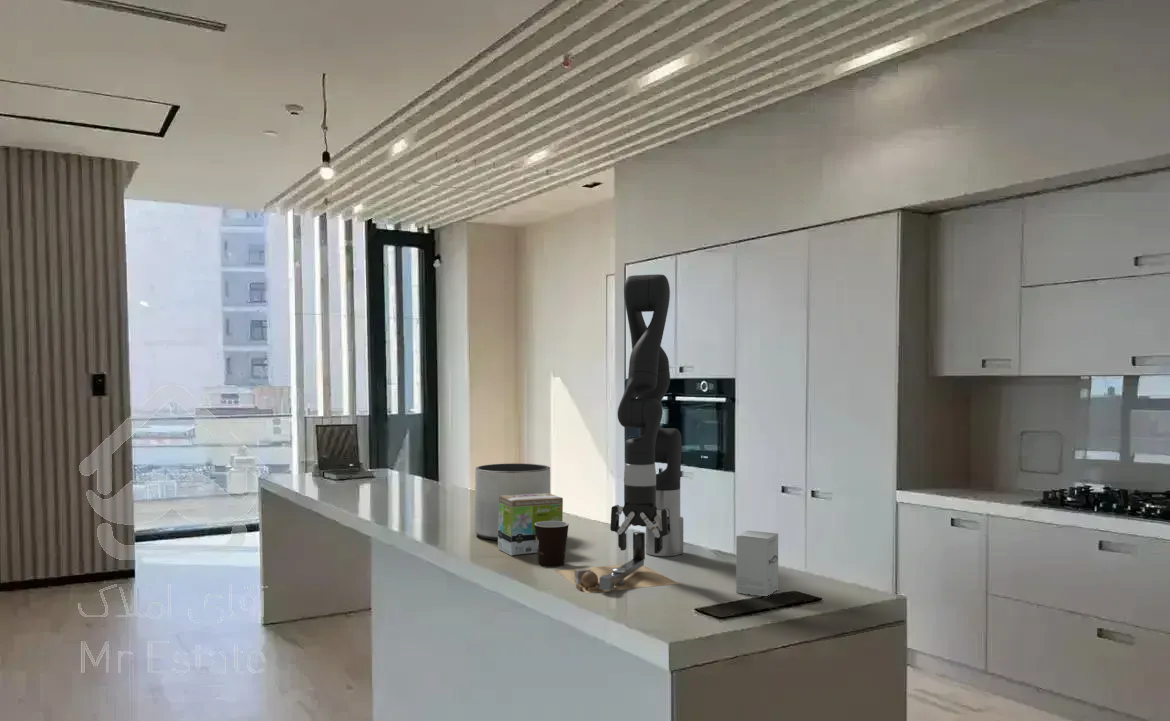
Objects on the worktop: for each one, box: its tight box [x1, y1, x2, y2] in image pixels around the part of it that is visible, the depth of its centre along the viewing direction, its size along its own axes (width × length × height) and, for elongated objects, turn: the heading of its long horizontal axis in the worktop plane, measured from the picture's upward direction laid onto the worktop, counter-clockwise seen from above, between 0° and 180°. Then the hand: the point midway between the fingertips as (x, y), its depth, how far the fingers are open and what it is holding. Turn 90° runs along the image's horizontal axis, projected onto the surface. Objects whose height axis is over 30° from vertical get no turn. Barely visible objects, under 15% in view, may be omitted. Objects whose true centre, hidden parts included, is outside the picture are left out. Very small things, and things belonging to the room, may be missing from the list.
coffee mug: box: [534, 521, 570, 568], centre depth 205 cm, size 12×9×10 cm
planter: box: [473, 462, 551, 541], centre depth 241 cm, size 23×23×20 cm
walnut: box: [582, 571, 598, 588], centre depth 176 cm, size 4×4×4 cm
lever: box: [600, 531, 646, 590], centre depth 182 cm, size 24×3×8 cm, turn 157°
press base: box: [554, 564, 680, 594], centre depth 185 cm, size 23×21×4 cm
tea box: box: [497, 493, 564, 556], centre depth 220 cm, size 15×10×15 cm, turn 117°
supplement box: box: [735, 530, 779, 597], centre depth 178 cm, size 7×7×13 cm
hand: (640, 551), depth 192 cm, fingers open, 8 cm apart
